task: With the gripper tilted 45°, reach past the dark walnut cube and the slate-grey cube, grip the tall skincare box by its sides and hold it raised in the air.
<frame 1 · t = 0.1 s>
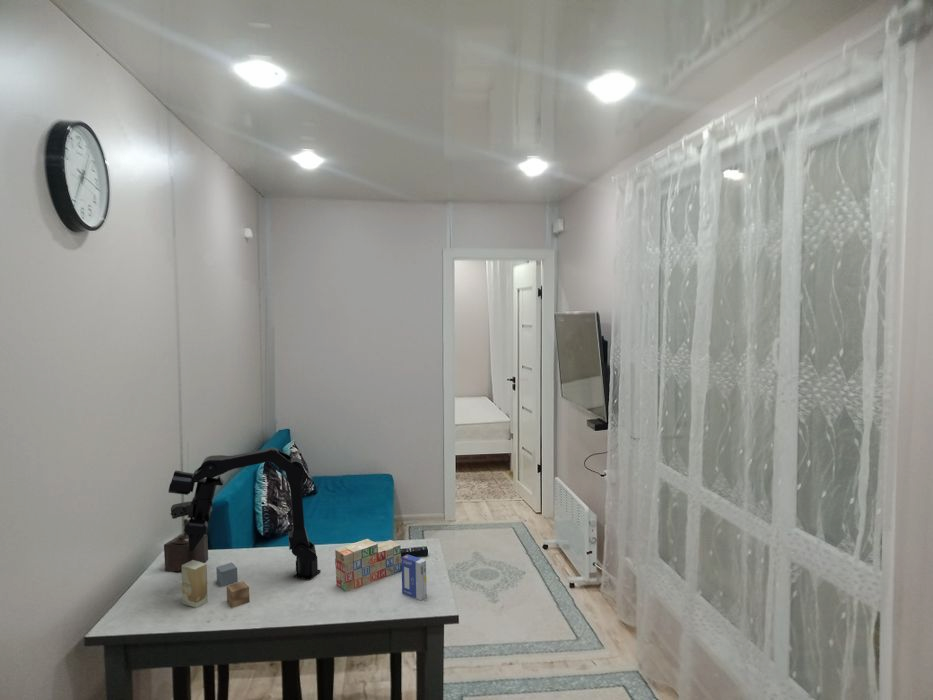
hand: (192, 545, 179), 15 cm above the table, tool pointing down, fingers open, 9 cm apart
stack of blocks: (369, 578, 188), on the table
walkman: (414, 595, 177), on the table
slate cube: (227, 581, 187), on the table
manual coffee grinder: (193, 566, 199), on the table
skincare box: (195, 603, 173), on the table
walnut cube: (238, 602, 174), on the table
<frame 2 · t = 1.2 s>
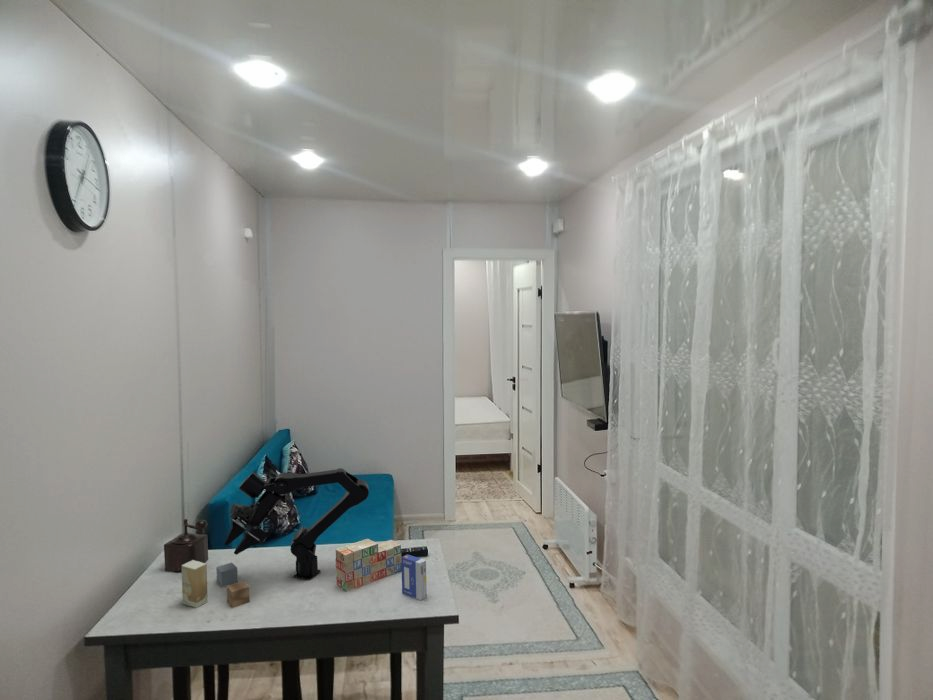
hand: (230, 549, 179), 14 cm above the table, tool tilted 45°, fingers open, 9 cm apart
nothing on the table moved.
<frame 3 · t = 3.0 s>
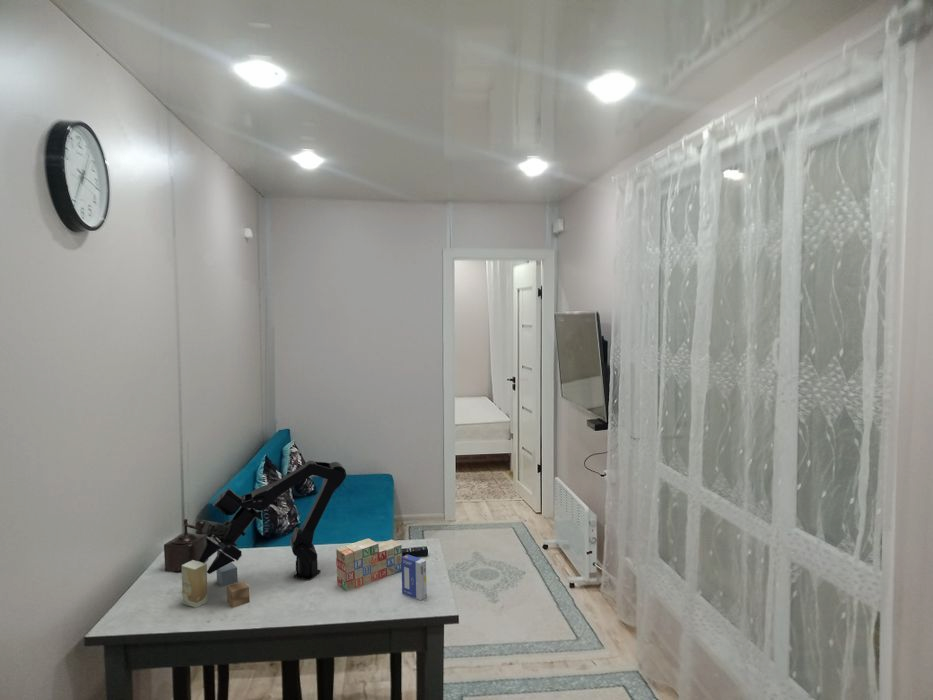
hand: (203, 568, 175), 10 cm above the table, tool tilted 45°, fingers open, 9 cm apart
nothing on the table moved.
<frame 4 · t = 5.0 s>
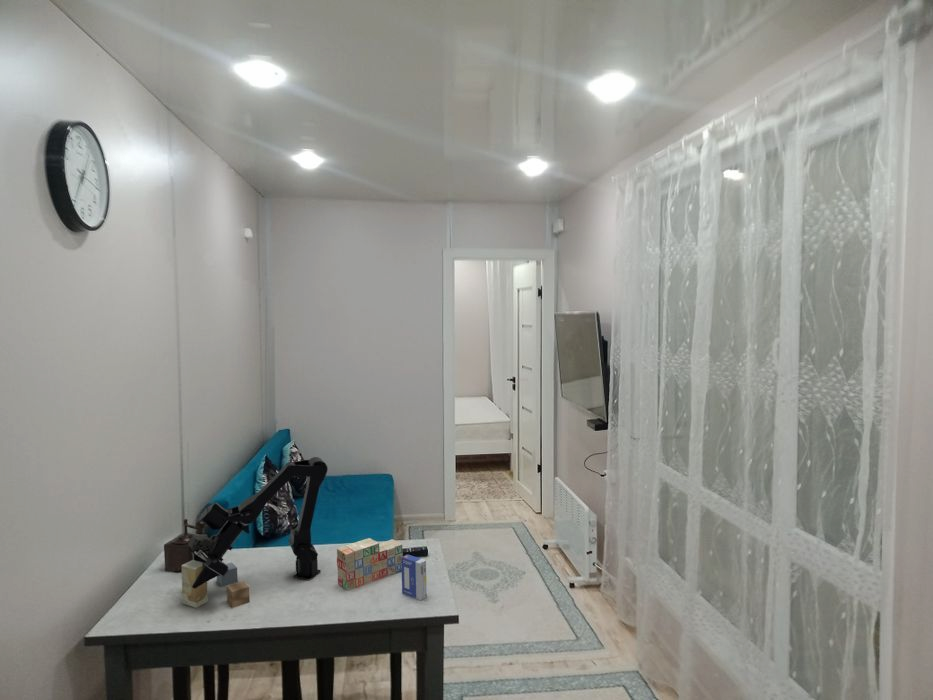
hand: (189, 583, 172), 7 cm above the table, tool tilted 45°, fingers closed on skincare box, 7 cm apart
skincare box: (195, 603, 173), on the table, touching gripper
everything else where it was.
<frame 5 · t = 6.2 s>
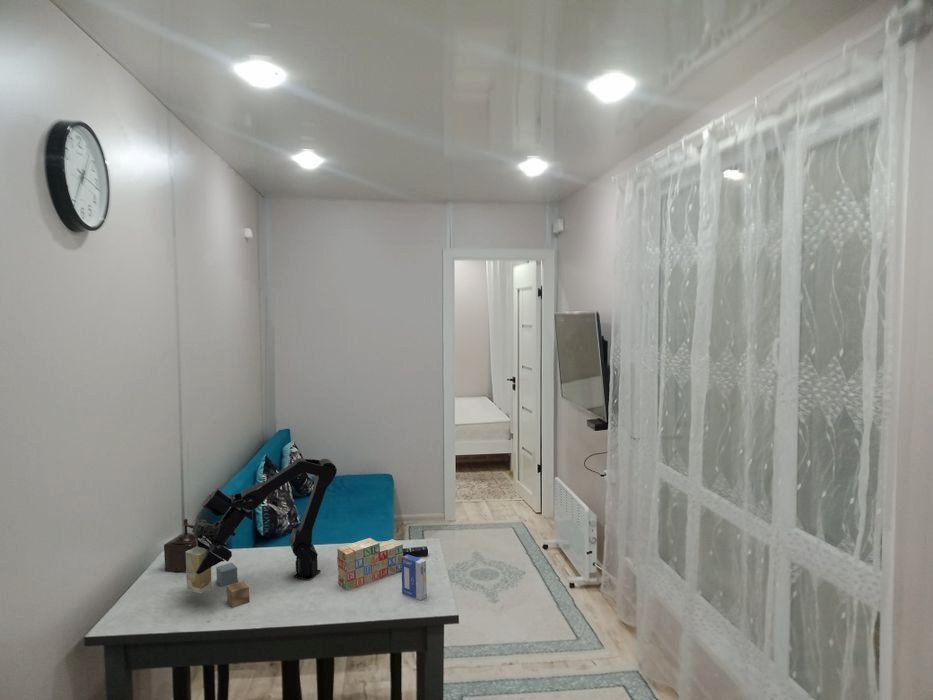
hand: (193, 569, 173), 11 cm above the table, tool tilted 45°, fingers closed on skincare box, 7 cm apart
skincare box: (199, 589, 174), point 4 cm above the table, touching gripper
everything else where it was.
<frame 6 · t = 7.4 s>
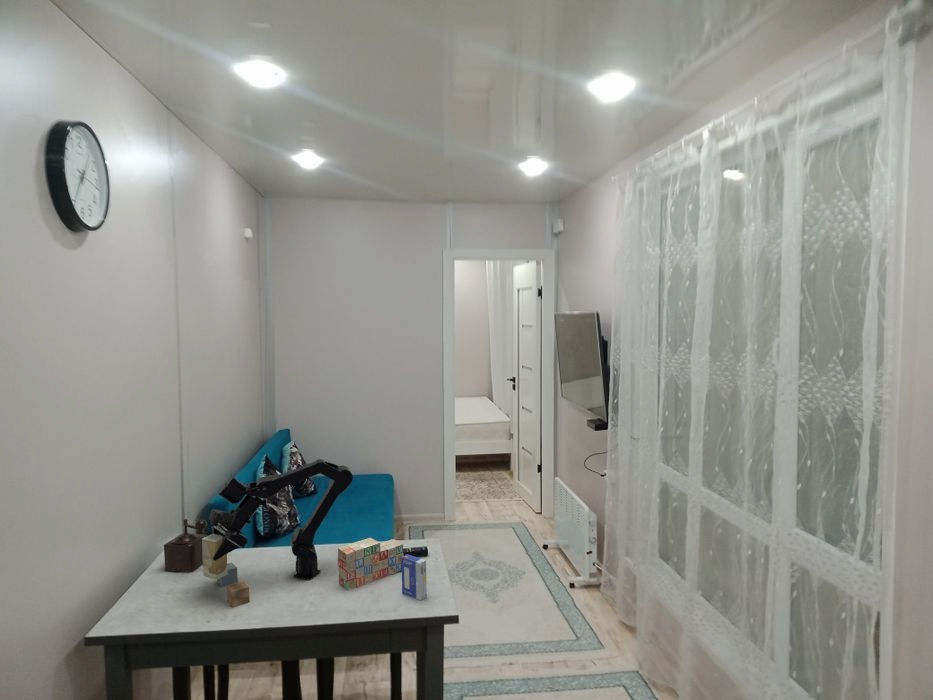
hand: (209, 556, 176), 13 cm above the table, tool tilted 45°, fingers closed on skincare box, 7 cm apart
skincare box: (215, 576, 177), point 6 cm above the table, touching gripper
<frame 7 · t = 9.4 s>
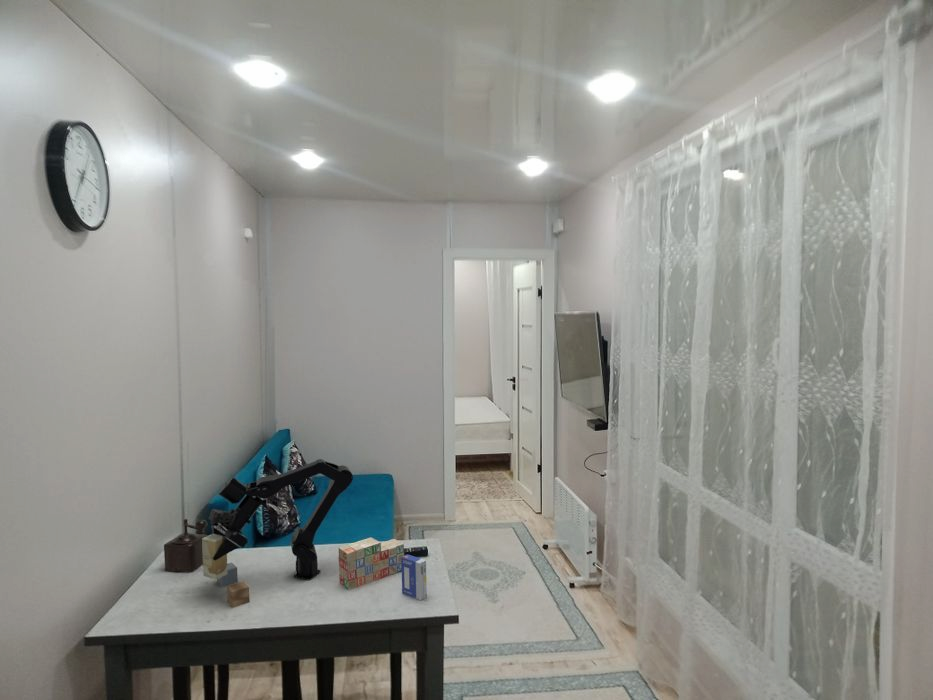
hand: (209, 555, 176), 13 cm above the table, tool tilted 45°, fingers closed on skincare box, 7 cm apart
skincare box: (215, 576, 177), point 6 cm above the table, touching gripper
at the end: the gripper is holding skincare box; skincare box point 6.4 cm above the table; walnut cube moved 0.1 cm from its start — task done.
